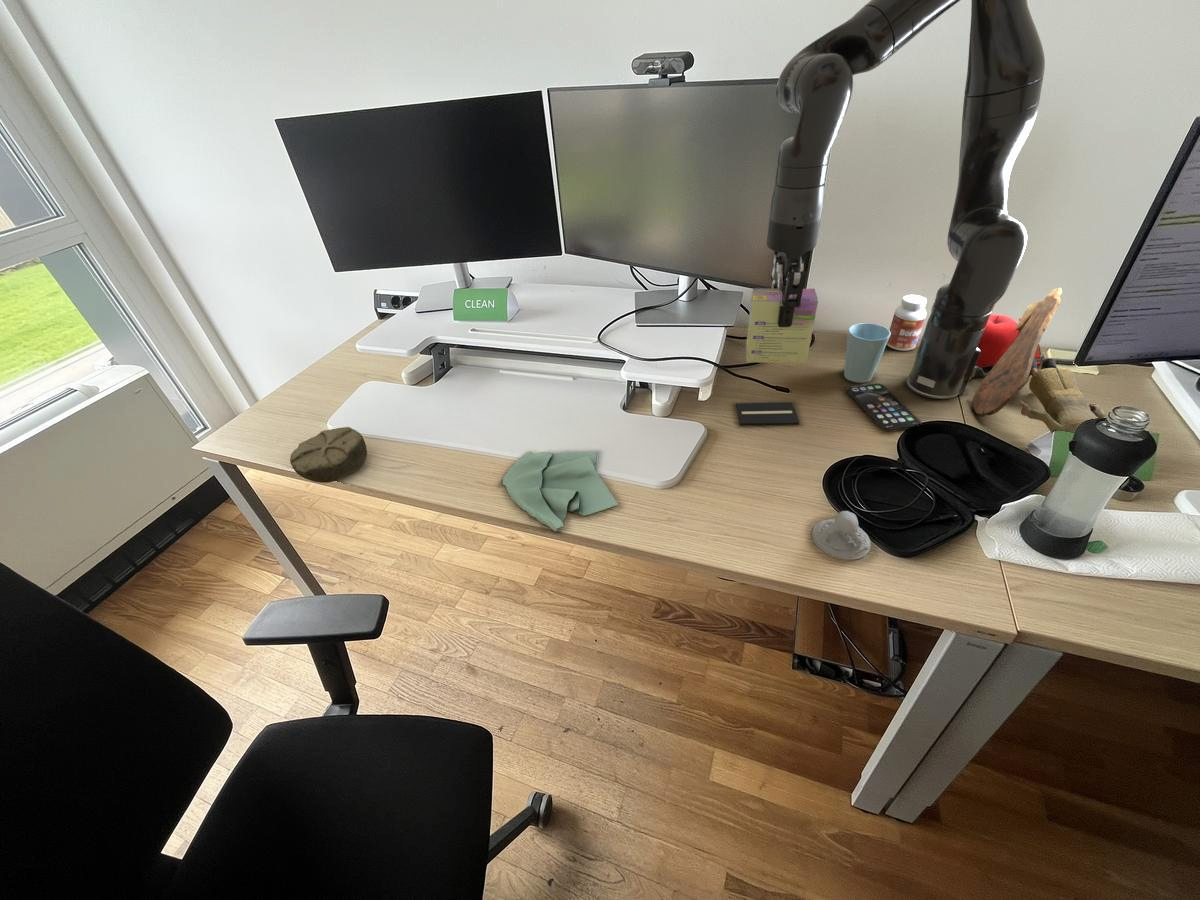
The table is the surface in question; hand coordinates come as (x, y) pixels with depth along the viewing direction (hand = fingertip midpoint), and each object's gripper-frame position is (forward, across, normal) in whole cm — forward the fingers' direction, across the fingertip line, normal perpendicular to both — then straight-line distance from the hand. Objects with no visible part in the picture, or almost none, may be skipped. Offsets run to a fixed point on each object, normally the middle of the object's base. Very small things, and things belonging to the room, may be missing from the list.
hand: (780, 317), depth 91 cm
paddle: (+19, +3, +37) cm, 42 cm away
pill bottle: (+21, -26, +34) cm, 48 cm away
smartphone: (+21, -1, +22) cm, 30 cm away
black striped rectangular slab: (+20, 0, 0) cm, 20 cm away
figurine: (+15, -6, +50) cm, 52 cm away
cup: (+21, -13, +21) cm, 32 cm away
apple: (+21, -17, +46) cm, 53 cm away
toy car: (+15, -16, +55) cm, 59 cm away
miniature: (+21, +32, +6) cm, 39 cm away
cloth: (+20, +21, -38) cm, 49 cm away
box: (+8, 0, 0) cm, 8 cm away
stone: (+13, +17, -83) cm, 86 cm away
